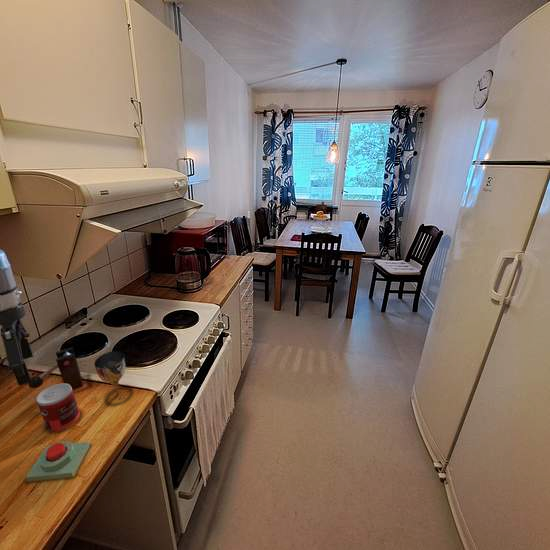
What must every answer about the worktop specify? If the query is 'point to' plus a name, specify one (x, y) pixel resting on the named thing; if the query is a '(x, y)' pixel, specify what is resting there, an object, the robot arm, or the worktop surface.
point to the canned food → (58, 406)
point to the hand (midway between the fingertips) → (26, 369)
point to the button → (55, 452)
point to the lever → (43, 375)
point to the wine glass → (111, 368)
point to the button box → (58, 463)
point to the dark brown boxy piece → (69, 368)
